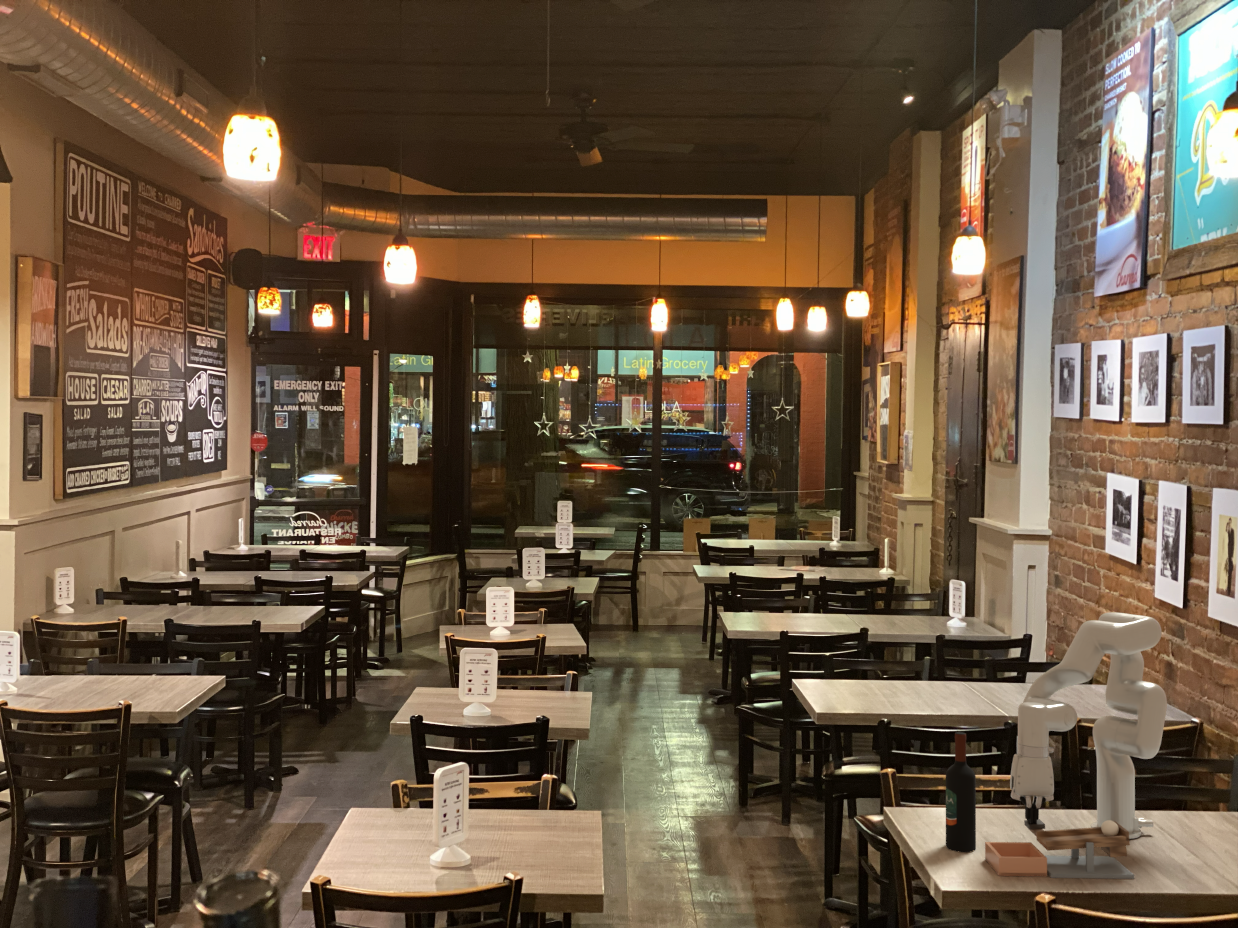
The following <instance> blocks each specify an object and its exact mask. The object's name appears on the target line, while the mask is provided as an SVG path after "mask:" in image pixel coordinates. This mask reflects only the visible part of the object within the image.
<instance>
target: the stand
mask: <svg viewBox="0 0 1238 928" xmlns="http://www.w3.org/2000/svg"><path fill="white" fill-rule="evenodd" d="M1070 850H1071V854H1070V855H1044V854H1043V855H1044V856H1045V857H1046V858H1047V876H1049V878H1052V879H1053V878H1055V879H1056V878H1057V879H1060V878H1061V879H1063V878H1064V879H1067V878H1068V879H1120V880H1121V879H1123V880H1125V879H1128V880H1134V879H1135V874H1134V873H1133V872H1132V871H1131V870H1129V869H1128V868H1127V867H1126V866H1124V865H1123V864H1122V862H1120V861H1119V860H1118V859H1116V857H1110V856H1109V855H1107V856H1106V855H1094V854H1095V851H1094V850H1095V849H1094V843H1093V842H1086V848H1085V855H1080V849H1070Z"/></svg>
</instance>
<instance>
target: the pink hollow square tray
mask: <svg viewBox="0 0 1238 928" xmlns="http://www.w3.org/2000/svg"><path fill="white" fill-rule="evenodd" d="M984 844H985V845H984V846H985V847H984V849H985V850H984V856H985V857H984V858H985V859H984V860H985V861H986V862H987V863H988V864H989V866H990V867H991V868H992V869H993V870H994V871H995V873H996V874H997V876H999V877H1042V878H1043V877H1048V874H1047V858H1046V857H1045V856H1044V853H1042V851H1040V849H1038V848H1037V846H1035V845H1034V844H1033V843H1032V842H1028V841H1026V842H1024V841H1022V842H1019V841H1018V842H1017V841H1014V842H1013V841H984Z"/></svg>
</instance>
